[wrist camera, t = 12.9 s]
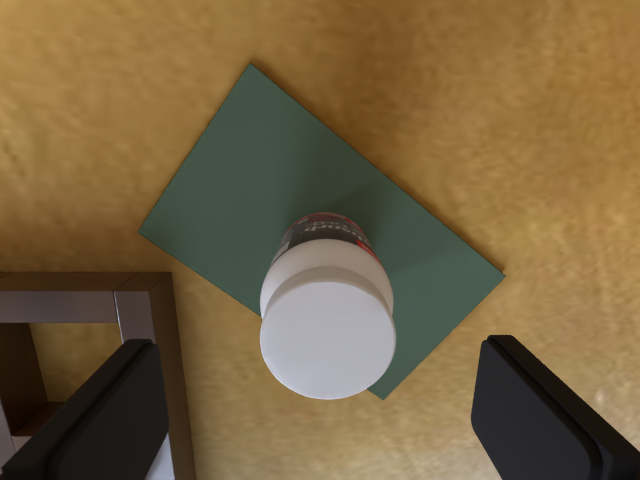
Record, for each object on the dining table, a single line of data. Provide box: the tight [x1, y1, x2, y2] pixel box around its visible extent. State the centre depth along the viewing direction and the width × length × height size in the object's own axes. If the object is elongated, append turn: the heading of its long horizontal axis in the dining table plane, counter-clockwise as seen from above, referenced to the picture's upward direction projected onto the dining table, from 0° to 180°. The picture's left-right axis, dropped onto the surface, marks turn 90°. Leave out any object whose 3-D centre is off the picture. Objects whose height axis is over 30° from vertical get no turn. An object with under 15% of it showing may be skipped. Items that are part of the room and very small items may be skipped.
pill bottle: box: [260, 212, 396, 399], centre depth 16 cm, size 6×6×10 cm
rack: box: [0, 272, 196, 480], centre depth 23 cm, size 12×22×3 cm, turn 0°
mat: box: [138, 63, 506, 400], centre depth 21 cm, size 20×12×1 cm, turn 52°
